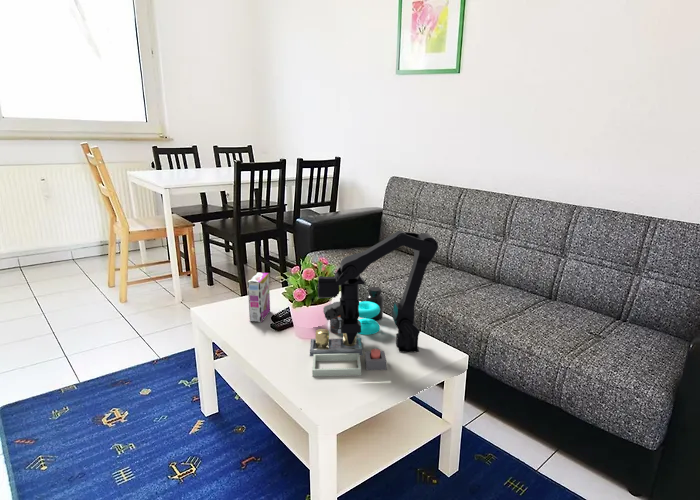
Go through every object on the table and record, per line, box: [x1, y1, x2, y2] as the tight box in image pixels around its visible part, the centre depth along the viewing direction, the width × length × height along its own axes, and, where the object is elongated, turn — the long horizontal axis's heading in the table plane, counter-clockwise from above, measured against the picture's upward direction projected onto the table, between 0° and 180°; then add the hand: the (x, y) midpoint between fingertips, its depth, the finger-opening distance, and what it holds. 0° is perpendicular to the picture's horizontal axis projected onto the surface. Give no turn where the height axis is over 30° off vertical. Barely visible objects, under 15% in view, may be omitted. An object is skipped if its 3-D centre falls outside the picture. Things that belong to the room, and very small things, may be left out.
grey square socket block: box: [364, 350, 387, 371], centre depth 138 cm, size 6×6×4 cm
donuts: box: [357, 300, 381, 336], centre depth 161 cm, size 10×10×10 cm
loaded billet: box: [315, 328, 330, 349], centre depth 147 cm, size 4×4×6 cm
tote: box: [311, 353, 362, 377], centre depth 136 cm, size 14×9×3 cm, turn 92°
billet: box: [342, 333, 357, 346], centre depth 147 cm, size 4×4×6 cm
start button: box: [370, 348, 381, 359], centre depth 137 cm, size 3×3×3 cm
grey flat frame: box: [309, 337, 363, 357], centre depth 148 cm, size 17×10×2 cm, turn 92°
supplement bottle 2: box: [365, 286, 384, 322], centre depth 171 cm, size 7×7×12 cm
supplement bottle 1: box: [329, 301, 343, 335], centre depth 159 cm, size 6×6×11 cm
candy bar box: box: [247, 271, 271, 323], centre depth 172 cm, size 11×5×16 cm, turn 172°
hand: (349, 340), depth 148 cm, fingers closed on billet, 4 cm apart
